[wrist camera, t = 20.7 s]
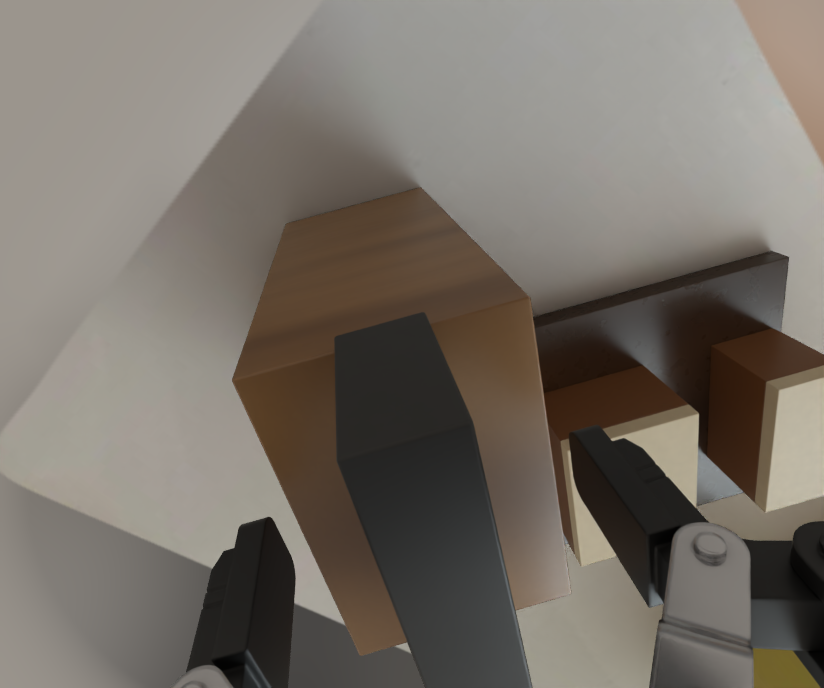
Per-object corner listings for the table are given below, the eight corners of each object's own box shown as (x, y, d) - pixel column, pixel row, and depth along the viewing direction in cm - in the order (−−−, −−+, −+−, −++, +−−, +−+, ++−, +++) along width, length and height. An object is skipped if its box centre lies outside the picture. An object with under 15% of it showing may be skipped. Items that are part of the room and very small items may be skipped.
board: (484, 330, 34) (490, 340, 33) (771, 250, 34) (789, 256, 33) (523, 540, 43) (530, 554, 42) (751, 474, 43) (764, 486, 42)
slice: (710, 345, 35) (778, 389, 30) (773, 327, 35) (852, 368, 30) (706, 457, 40) (765, 513, 34) (762, 441, 40) (828, 494, 34)
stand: (285, 223, 29) (230, 380, 13) (421, 186, 29) (531, 296, 13) (345, 396, 35) (359, 657, 19) (460, 364, 35) (572, 594, 19)
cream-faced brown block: (530, 396, 35) (567, 451, 30) (643, 364, 35) (699, 412, 30) (547, 503, 39) (581, 567, 34) (646, 474, 40) (696, 533, 34)
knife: (333, 335, 13) (334, 460, 9) (424, 310, 13) (473, 421, 9) (479, 759, 23) (515, 921, 18) (531, 743, 23) (580, 901, 18)
